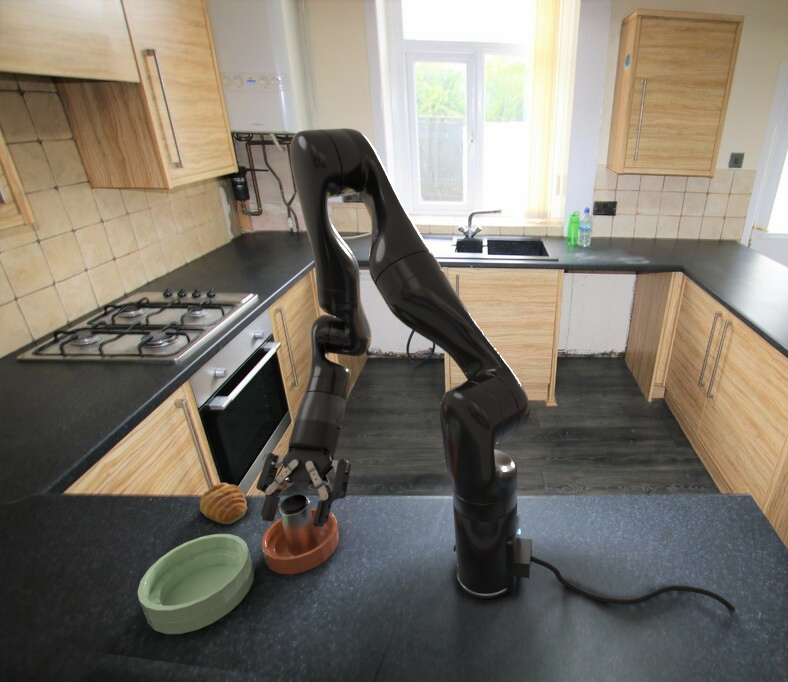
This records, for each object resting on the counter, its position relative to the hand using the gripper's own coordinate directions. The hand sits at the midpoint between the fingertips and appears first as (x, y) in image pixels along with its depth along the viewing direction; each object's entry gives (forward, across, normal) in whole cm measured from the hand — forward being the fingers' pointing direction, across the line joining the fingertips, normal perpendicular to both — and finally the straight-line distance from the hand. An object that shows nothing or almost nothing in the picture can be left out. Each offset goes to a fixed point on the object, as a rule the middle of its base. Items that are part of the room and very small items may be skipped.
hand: (292, 523), depth 74 cm
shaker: (+3, 0, +5) cm, 6 cm away
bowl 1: (+11, -10, -2) cm, 15 cm away
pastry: (-1, -19, +10) cm, 22 cm away
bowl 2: (+4, 0, +5) cm, 6 cm away
